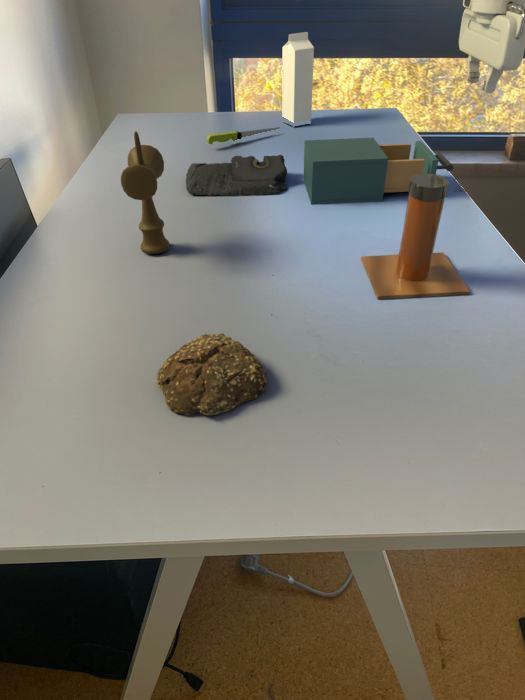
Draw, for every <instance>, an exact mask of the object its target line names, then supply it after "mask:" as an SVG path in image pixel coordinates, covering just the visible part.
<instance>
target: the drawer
mask: <svg viewBox="0 0 525 700" xmlns="http://www.w3.org/2000/svg"><path fill="white" fill-rule="evenodd" d="M378 145H379V146H380V148H381V149H382V150H383V152H384V153H385V154H386V156H387V157H388V165H387V172H386V179H385V187H384V194H385V193H404V192H405V193H406V192H407V193H409V187H410V181H411V178H412V177H413V176H415V175H418V174H435V175H437V170H446V172H451V171H453V169H454V165H453V164H452V163H451V161H449V160H448V158H446V156H445V155H444V154H443V153H441V152H437V153H436V154H434V153H433V152H432V151H431V150H430V149H429V148H428V147H427V145H426V144H424V142H423V141H422V140H415V143H414V150H413V155H412V158H411V159H410V157H411V156H410V155H411V149H412V144H411V143H386V144H378ZM439 163H440V164H441V165H439Z"/></svg>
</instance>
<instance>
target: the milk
mask: <svg viewBox="0 0 525 700" xmlns="http://www.w3.org/2000/svg"><path fill="white" fill-rule="evenodd" d="M281 50H282V53H281V54H282V58H281V59H282V61H281V62H282V65H281V66H282V67H281V70H282V71H281V73H282V74H281V79H282V80H281V82H282V83H281V84H282V85H281V86H282V87H281V89H282V90H281V92H282V93H281V94H282V95H281V100H282V101H281V116H282V117H284V118H286V119H288V120H289V121H291V122H293V123H296V122H301V121H305V120H311V121H312V110H313V86H314V85H313V84H314V83H313V80H314V55H315V46H314V45H313V44H312V42H311V41H310V40H309V32H308V31H304V32H303V31H302V32H296V33H295V32H294V33H289V34H288V40H287V42H286V43H284V45H283V46H282V48H281ZM282 117H281V118H282Z"/></svg>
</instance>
